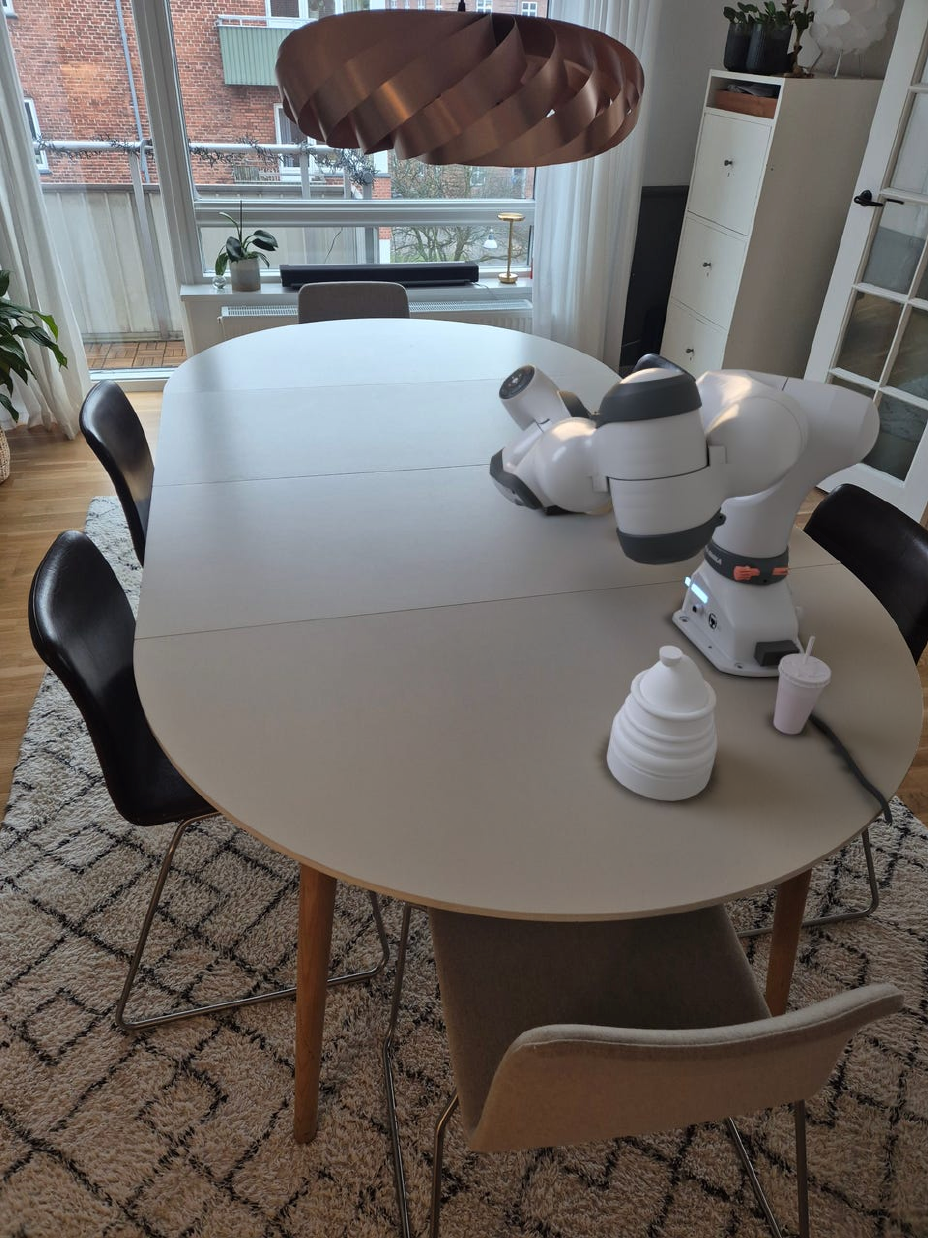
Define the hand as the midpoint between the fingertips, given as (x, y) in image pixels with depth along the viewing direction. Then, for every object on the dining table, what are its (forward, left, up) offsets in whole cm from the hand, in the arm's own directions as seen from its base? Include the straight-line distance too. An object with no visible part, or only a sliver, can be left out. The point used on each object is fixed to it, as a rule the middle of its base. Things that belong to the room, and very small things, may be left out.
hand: (601, 478), depth 157 cm
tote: (+15, +3, -11) cm, 18 cm away
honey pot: (-63, +8, -11) cm, 65 cm away
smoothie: (-57, -12, -11) cm, 60 cm away
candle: (0, +1, -6) cm, 6 cm away
